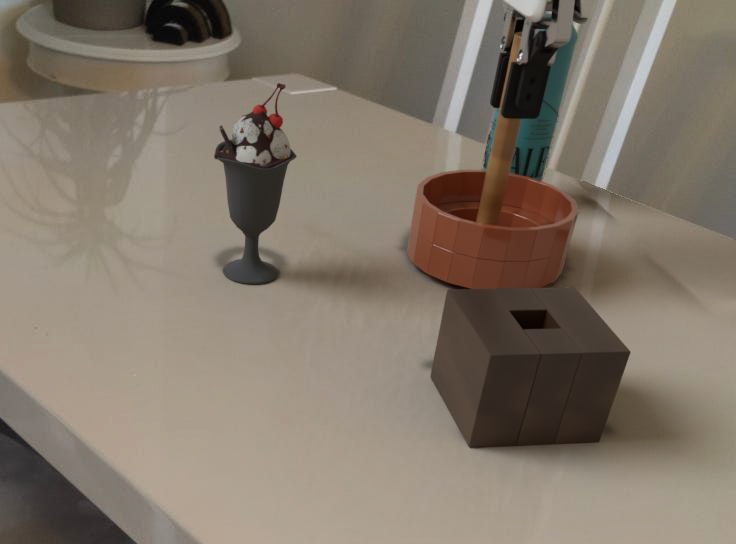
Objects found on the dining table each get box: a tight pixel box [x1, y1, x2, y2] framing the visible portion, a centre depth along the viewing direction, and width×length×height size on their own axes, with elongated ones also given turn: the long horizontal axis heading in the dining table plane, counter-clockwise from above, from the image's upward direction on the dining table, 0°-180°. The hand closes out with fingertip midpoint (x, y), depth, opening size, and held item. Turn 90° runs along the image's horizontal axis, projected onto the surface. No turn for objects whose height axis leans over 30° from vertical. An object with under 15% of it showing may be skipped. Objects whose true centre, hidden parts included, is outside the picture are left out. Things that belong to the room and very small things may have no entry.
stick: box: [476, 32, 536, 226], centre depth 84 cm, size 2×2×18 cm
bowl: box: [406, 169, 579, 289], centre depth 88 cm, size 14×14×6 cm
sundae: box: [213, 82, 298, 285], centre depth 81 cm, size 7×7×15 cm
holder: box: [430, 286, 631, 448], centre depth 70 cm, size 10×10×7 cm
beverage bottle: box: [480, 12, 579, 182], centre depth 96 cm, size 6×7×20 cm
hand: (513, 110), depth 81 cm, fingers closed on stick, 2 cm apart
